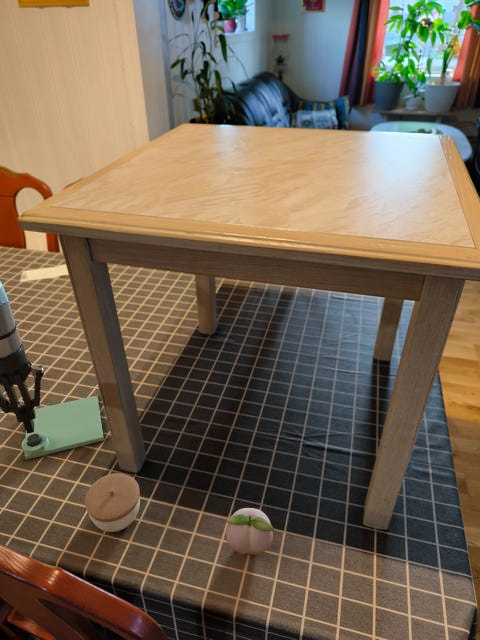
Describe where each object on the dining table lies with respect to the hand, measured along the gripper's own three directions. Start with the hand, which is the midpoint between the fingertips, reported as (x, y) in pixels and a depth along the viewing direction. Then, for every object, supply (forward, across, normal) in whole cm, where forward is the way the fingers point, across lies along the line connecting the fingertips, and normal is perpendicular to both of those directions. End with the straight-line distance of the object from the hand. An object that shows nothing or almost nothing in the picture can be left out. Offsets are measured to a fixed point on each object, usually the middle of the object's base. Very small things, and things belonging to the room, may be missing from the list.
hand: (30, 428), depth 104 cm
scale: (+8, -6, -5) cm, 11 cm away
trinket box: (+8, -16, +25) cm, 30 cm away
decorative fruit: (+8, -40, +40) cm, 57 cm away
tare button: (+5, 0, 0) cm, 5 cm away
